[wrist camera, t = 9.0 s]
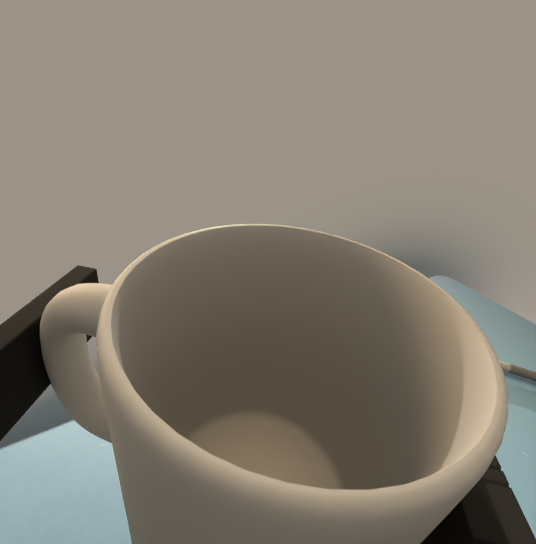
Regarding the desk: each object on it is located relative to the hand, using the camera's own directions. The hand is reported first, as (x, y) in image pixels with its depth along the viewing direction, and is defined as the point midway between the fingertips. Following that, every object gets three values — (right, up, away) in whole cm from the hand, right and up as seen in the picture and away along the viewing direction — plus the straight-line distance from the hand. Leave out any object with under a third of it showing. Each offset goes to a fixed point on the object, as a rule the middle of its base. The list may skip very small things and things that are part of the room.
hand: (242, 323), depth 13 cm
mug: (-1, -7, 0) cm, 8 cm away
